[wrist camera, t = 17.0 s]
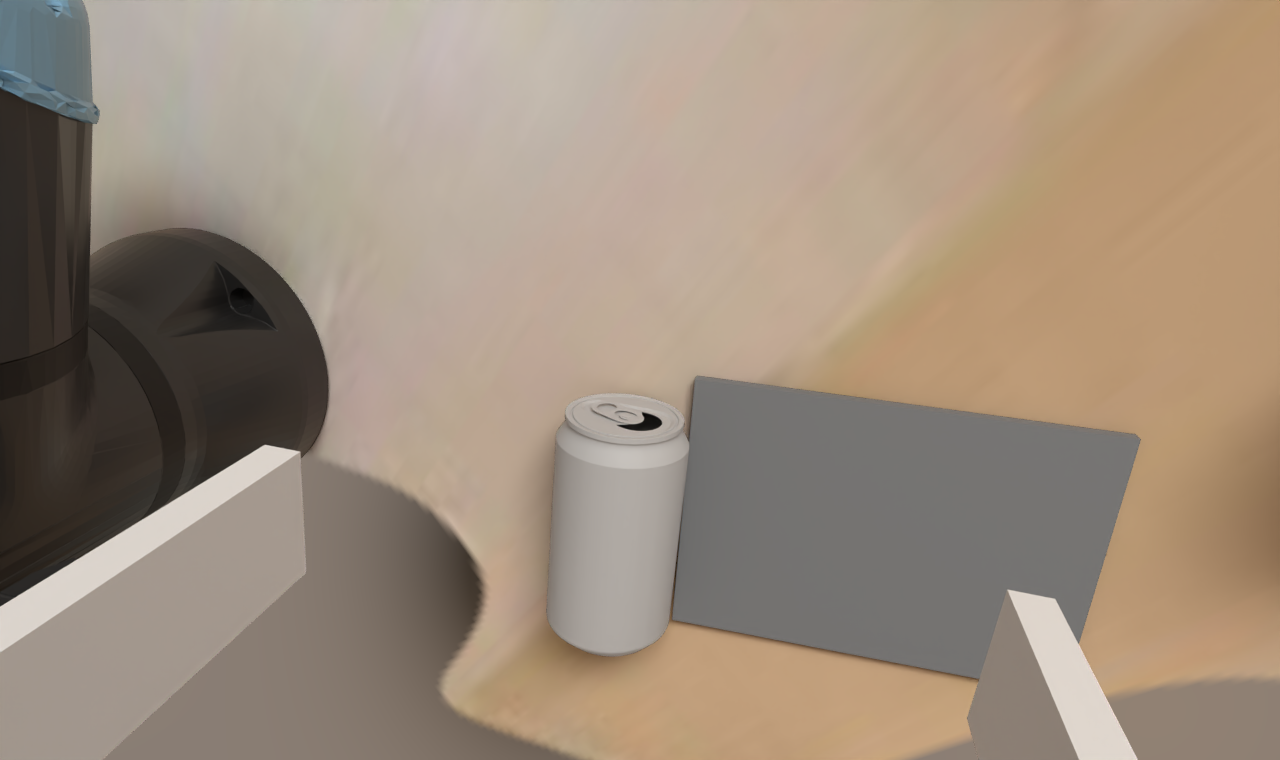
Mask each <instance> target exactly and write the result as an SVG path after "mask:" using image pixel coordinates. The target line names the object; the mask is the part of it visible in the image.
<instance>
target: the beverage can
mask: <svg viewBox="0 0 1280 760" xmlns="http://www.w3.org/2000/svg"><path fill="white" fill-rule="evenodd" d="M683 428H684V417H683V415H682V414H681V413H680V412H679V411H678V410H677V409H676V408H674V407H673V406H671V405H669V404H667V403H665V402H662V401H659V400H656V399H653V398H649V397H644V396H639V395H632V394H619V393H609V394H596V395H590V396H586V397H582V398H579V399H577V400H575V401H573V402H571V403H570V404H569V405H568V406H567V408H566V410H565V421H564V422H563V424H562V425H561V426H560V428H559V429H558V431H557V433H556V443H555V462H554V480H553V498H552V516H551V535H550V553H549V571H548V589H547V608H546V613H547V619H548V622H549V624H550V626H551V628H552V629H553V631H554V632H555V633H556V634H557V635H558V636H559V637H560V638H562V639H563V640H564V641H566V642H567V643H569V644H571V645H573V646H575V647H577V648H579V649H581V650H583V651H585V652H588V653H591V654H595V655H600V656H624V655H628V654H632V653H635V652H638V651H640V650H642V649H643V648H646V647H648V646H649V645H651V644H653V643H654V642H656V641H657V640H658V639H659V638H660V637H661V636H662V635H663V634H664V632H665V630H666V628H667V626H668V623H669V617H670V608H671V600H672V591H673V583H674V574H675V566H676V557H677V549H678V540H679V532H680V523H681V515H682V506H683V498H684V489H685V481H686V472H687V464H688V455H689V441H688V439H687V437H686V435H685V433H684V432H683Z"/></svg>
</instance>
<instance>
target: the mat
mask: <svg viewBox="0 0 1280 760" xmlns="http://www.w3.org/2000/svg"><path fill="white" fill-rule="evenodd" d="M1140 440H1141V439H1140V438H1139V437H1138V436H1137V435H1136V434H1129V433H1121V432H1114V431H1106V430H1099V429H1091V428H1084V427H1076V426H1069V425H1061V424H1054V423H1046V422H1039V421H1032V420H1024V419H1017V418H1009V417H1002V416H994V415H987V414H979V413H972V412H964V411H957V410H949V409H942V408H934V407H927V406H920V405H912V404H905V403H897V402H890V401H882V400H875V399H867V398H860V397H852V396H845V395H837V394H830V393H823V392H815V391H808V390H800V389H793V388H785V387H778V386H770V385H763V384H755V383H748V382H740V381H733V380H726V379H718V378H711V377H703V376H697V377H696V379H695V386H694V396H693V407H692V417H691V428H690V438H689V455H688V464H687V472H686V481H685V490H684V501H683V511H682V522H681V532H680V543H679V553H678V563H677V574H676V584H675V595H674V605H673V616H672V620H676V621H681V622H687V623H692V624H697V625H702V626H707V627H712V628H718V629H723V630H728V631H733V632H738V633H744V634H749V635H754V636H759V637H764V638H770V639H775V640H780V641H785V642H790V643H795V644H801V645H806V646H811V647H816V648H821V649H827V650H832V651H837V652H842V653H847V654H853V655H858V656H863V657H868V658H873V659H878V660H884V661H889V662H894V663H899V664H904V665H910V666H915V667H920V668H925V669H930V670H935V671H941V672H946V673H951V674H956V675H961V676H967V677H972V678H977V679H979V678H980V675H981V672H982V669H983V666H984V662H985V659H986V656H987V653H988V650H989V646H990V643H991V640H992V637H993V634H994V630H995V627H996V624H997V621H998V618H999V614H1000V611H1001V608H1002V605H1003V602H1004V598H1005V595H1006V592H1007V590H1012V591H1018V592H1023V593H1028V594H1033V595H1038V596H1043V597H1048V598H1053V599H1055V600H1056V601H1057V603H1058V605H1059V607H1060V609H1061V611H1062V613H1063V615H1064V617H1065V619H1066V621H1067V623H1068V625H1069V627H1070V629H1071V631H1072V633H1073V635H1074V637H1075V639H1076V640H1077V642H1078V644H1079V641H1080V638H1081V635H1082V631H1083V628H1084V625H1085V622H1086V618H1087V615H1088V612H1089V608H1090V605H1091V602H1092V599H1093V595H1094V592H1095V589H1096V585H1097V582H1098V579H1099V575H1100V572H1101V569H1102V566H1103V562H1104V559H1105V556H1106V552H1107V549H1108V546H1109V542H1110V539H1111V536H1112V533H1113V529H1114V526H1115V523H1116V519H1117V516H1118V513H1119V510H1120V506H1121V503H1122V500H1123V496H1124V493H1125V490H1126V486H1127V483H1128V480H1129V477H1130V473H1131V470H1132V467H1133V463H1134V460H1135V457H1136V453H1137V450H1138V447H1139V444H1140Z"/></svg>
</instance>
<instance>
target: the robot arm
mask: <svg viewBox="0 0 1280 760" xmlns="http://www.w3.org/2000/svg"><path fill="white" fill-rule="evenodd" d="M99 116H100V111H99V109H98V108H97V107H96V105H95V104H94V103H93V99H92V74H91V49H90V25H89V19H88V14H87V11H86V8H85V5H84V3H83V1H82V0H0V760H102V759H104V758H105V757H106V756H107V755H108V754H109V753H110V752H111V751H112V750H113V749H115V748H116V747H117V746H118V745H119V744H120V743H121V742H122V741H123V740H124V739H125V738H127V737H128V736H129V735H130V734H131V733H132V732H133V731H134V730H135V729H136V728H137V727H138V726H140V725H141V724H142V723H143V722H144V721H145V720H146V719H147V718H148V717H149V716H151V715H152V714H153V713H154V712H155V711H156V710H157V709H158V708H159V707H160V706H161V705H162V704H164V703H165V702H166V701H167V700H168V699H169V698H170V697H171V696H172V695H173V694H174V693H176V692H177V691H178V690H179V689H180V688H181V687H182V686H183V685H184V684H185V683H186V682H188V680H190V679H191V678H192V677H193V676H194V675H195V674H196V673H197V672H198V671H200V670H201V669H202V668H203V667H204V666H205V665H206V664H207V663H208V662H209V661H210V660H211V659H213V658H214V657H215V656H216V655H217V654H218V653H219V652H220V651H221V650H222V649H224V647H226V646H227V645H228V644H229V643H230V642H231V641H232V640H233V639H234V638H235V637H237V636H238V635H239V634H240V633H241V632H242V631H243V630H244V629H245V628H246V627H247V626H248V625H250V623H252V622H253V621H254V620H255V619H256V618H257V617H258V616H259V615H260V614H262V613H263V612H264V611H265V610H266V609H267V608H268V607H269V606H270V605H271V604H273V603H274V602H275V601H276V600H277V599H278V598H279V597H280V596H281V595H282V594H283V593H285V591H287V590H288V589H289V588H290V587H291V586H292V585H293V584H294V583H295V582H296V581H297V580H299V579H300V578H301V577H302V576H303V575H304V574H305V573H306V556H305V536H304V516H303V495H302V475H301V474H302V473H301V458H302V457H303V456H304V455H305V454H306V453H307V451H308V450H309V449H310V447H311V446H312V444H313V443H314V441H315V439H316V437H317V435H318V433H319V431H320V428H321V426H322V423H323V420H324V416H325V411H326V406H327V396H328V380H327V370H326V364H325V358H324V354H323V350H322V347H321V344H320V340H319V338H318V335H317V332H316V330H315V328H314V325H313V323H312V321H311V319H310V317H309V315H308V313H307V312H306V310H305V308H304V307H303V305H302V303H301V302H300V300H299V299H298V297H297V296H296V294H295V293H294V292H293V290H292V289H291V288H290V287H289V285H288V284H287V283H286V282H285V281H284V280H283V278H282V277H281V276H280V275H279V274H278V273H277V272H276V271H275V270H274V269H273V268H272V267H271V266H269V265H268V264H267V263H266V262H265V261H264V260H262V259H261V258H260V257H258V256H257V255H256V254H254V253H253V252H251V251H250V250H248V249H247V248H245V247H243V246H242V245H240V244H238V243H236V242H234V241H232V240H230V239H228V238H225V237H223V236H220V235H217V234H214V233H211V232H207V231H203V230H197V229H188V228H174V229H165V230H159V231H153V232H148V233H142V234H137V235H132V236H128V237H125V238H122V239H120V240H117V241H115V242H112V243H110V244H108V245H106V246H105V247H103V248H101V249H100V250H98V251H97V252H95V253H94V254H92V255H91V256H90V226H91V174H92V124H97V122H98V120H99ZM147 516H148V517H147ZM142 519H143V520H142ZM137 522H138V523H137ZM135 523H136V524H135ZM134 524H135V525H134ZM132 525H133V526H132ZM129 527H130V528H129ZM116 535H117V536H116ZM98 546H99V547H98ZM85 554H86V555H85ZM967 720H968V723H969V727H970V731H971V735H972V738H973V742H974V746H975V750H976V753H977V757H978V760H1138V759H1137V757H1136V756H1135V754H1134V752H1133V750H1132V748H1131V746H1130V744H1129V742H1128V740H1127V738H1126V736H1125V734H1124V732H1123V730H1122V728H1121V726H1120V724H1119V722H1118V720H1117V718H1116V717H1115V715H1114V713H1113V711H1112V709H1111V707H1110V705H1109V703H1108V701H1107V699H1106V697H1105V695H1104V693H1103V691H1102V689H1101V687H1100V685H1099V683H1098V681H1097V679H1096V678H1095V676H1094V674H1093V672H1092V670H1091V668H1090V666H1089V664H1088V662H1087V660H1086V658H1085V656H1084V654H1083V652H1082V650H1081V648H1080V646H1079V644H1078V642H1077V640H1076V639H1075V637H1074V635H1073V633H1072V631H1071V629H1070V627H1069V625H1068V623H1067V621H1066V619H1065V617H1064V615H1063V613H1062V611H1061V609H1060V607H1059V605H1058V603H1057V601H1056V600H1055V599H1053V598H1048V597H1043V596H1038V595H1033V594H1028V593H1023V592H1018V591H1012V590H1007V592H1006V595H1005V598H1004V602H1003V605H1002V608H1001V611H1000V614H999V618H998V621H997V624H996V627H995V630H994V634H993V637H992V640H991V643H990V646H989V650H988V653H987V656H986V659H985V662H984V666H983V669H982V672H981V675H980V678H979V682H978V685H977V688H976V691H975V694H974V698H973V701H972V704H971V707H970V710H969V714H968V717H967Z"/></svg>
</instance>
